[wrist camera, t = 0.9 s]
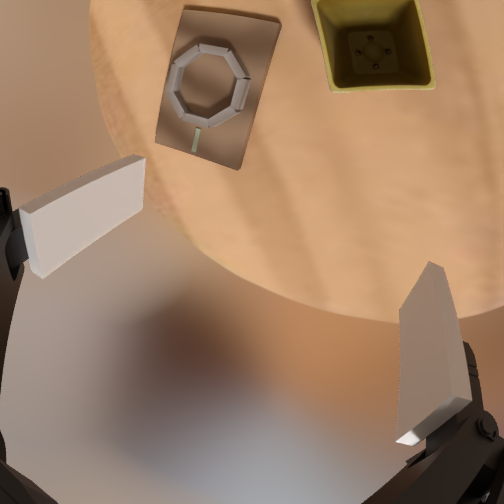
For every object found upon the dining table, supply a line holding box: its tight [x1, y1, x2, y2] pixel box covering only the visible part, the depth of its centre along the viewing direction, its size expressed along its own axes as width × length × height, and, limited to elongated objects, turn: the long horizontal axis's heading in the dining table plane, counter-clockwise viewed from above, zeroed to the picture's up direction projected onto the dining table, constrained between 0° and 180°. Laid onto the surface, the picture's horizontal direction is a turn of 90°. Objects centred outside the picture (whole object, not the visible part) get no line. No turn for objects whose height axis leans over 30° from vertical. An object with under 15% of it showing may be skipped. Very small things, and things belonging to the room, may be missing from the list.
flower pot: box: [311, 0, 436, 93], centre depth 22 cm, size 9×9×9 cm
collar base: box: [155, 10, 282, 171], centre depth 32 cm, size 18×12×2 cm, turn 164°
